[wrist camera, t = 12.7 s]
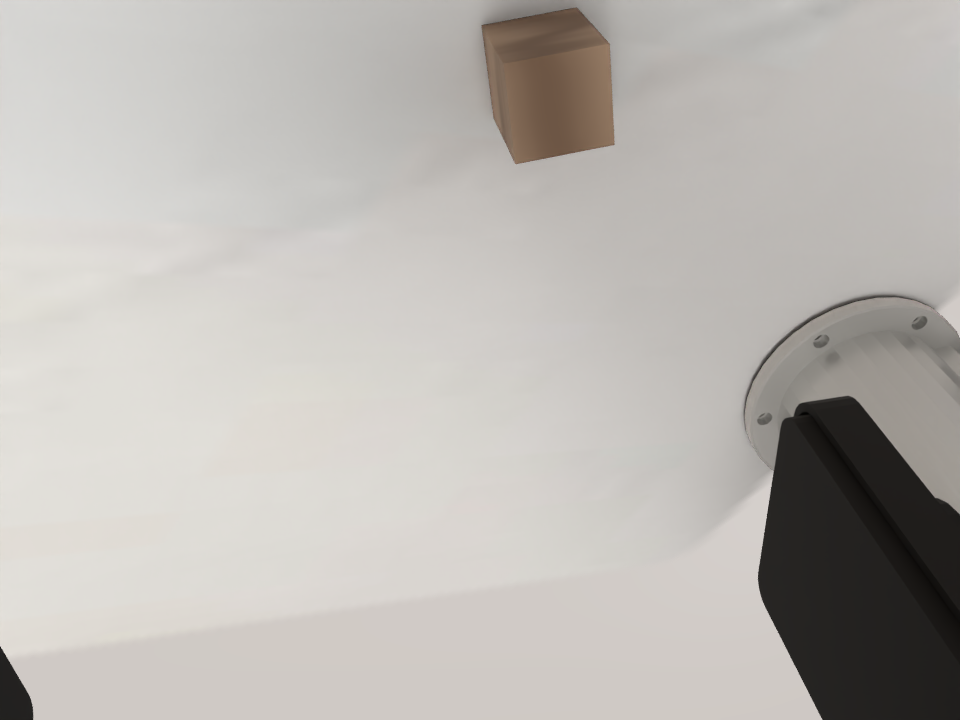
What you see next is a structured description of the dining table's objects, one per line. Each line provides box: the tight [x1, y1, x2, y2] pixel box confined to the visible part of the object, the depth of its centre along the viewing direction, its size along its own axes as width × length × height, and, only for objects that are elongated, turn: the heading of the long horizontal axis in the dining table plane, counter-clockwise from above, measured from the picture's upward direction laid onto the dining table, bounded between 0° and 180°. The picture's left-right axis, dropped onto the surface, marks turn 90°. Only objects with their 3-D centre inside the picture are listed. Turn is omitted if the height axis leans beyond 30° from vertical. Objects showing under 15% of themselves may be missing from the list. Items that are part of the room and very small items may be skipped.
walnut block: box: [482, 8, 614, 164], centre depth 37 cm, size 4×4×5 cm
